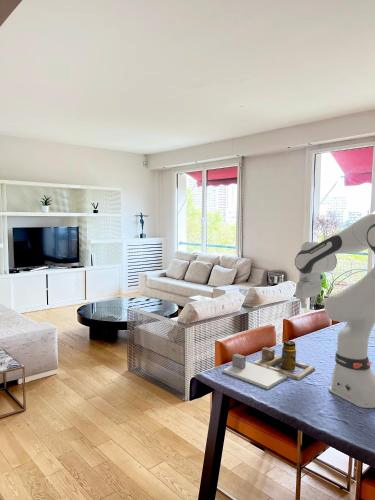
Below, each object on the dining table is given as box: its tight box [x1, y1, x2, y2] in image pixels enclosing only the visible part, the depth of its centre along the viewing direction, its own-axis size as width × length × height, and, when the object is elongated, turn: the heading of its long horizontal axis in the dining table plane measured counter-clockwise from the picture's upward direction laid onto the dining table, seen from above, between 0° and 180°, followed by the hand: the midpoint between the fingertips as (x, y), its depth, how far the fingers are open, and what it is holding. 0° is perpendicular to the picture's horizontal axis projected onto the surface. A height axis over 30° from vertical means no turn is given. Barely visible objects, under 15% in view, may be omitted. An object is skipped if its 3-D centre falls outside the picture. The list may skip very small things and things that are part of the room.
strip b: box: [222, 353, 288, 390], centre depth 163 cm, size 22×15×6 cm, turn 46°
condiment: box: [274, 340, 299, 372], centre depth 172 cm, size 7×8×12 cm
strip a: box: [252, 346, 316, 380], centre depth 173 cm, size 22×15×6 cm, turn 46°
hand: (308, 306), depth 177 cm, fingers open, 8 cm apart
